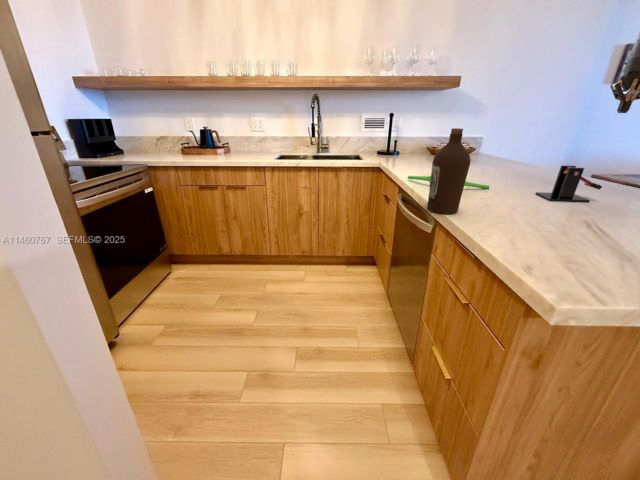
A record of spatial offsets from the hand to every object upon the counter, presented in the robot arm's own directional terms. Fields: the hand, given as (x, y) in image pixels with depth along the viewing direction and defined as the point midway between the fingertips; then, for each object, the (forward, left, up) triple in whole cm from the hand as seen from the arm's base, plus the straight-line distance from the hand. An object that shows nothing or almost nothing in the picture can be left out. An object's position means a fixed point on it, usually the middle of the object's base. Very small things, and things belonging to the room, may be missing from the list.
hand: (621, 113), depth 102 cm
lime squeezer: (+56, -2, -29) cm, 63 cm away
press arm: (+14, +12, -22) cm, 29 cm away
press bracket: (+18, +12, -29) cm, 36 cm away
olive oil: (+65, +30, -29) cm, 77 cm away
